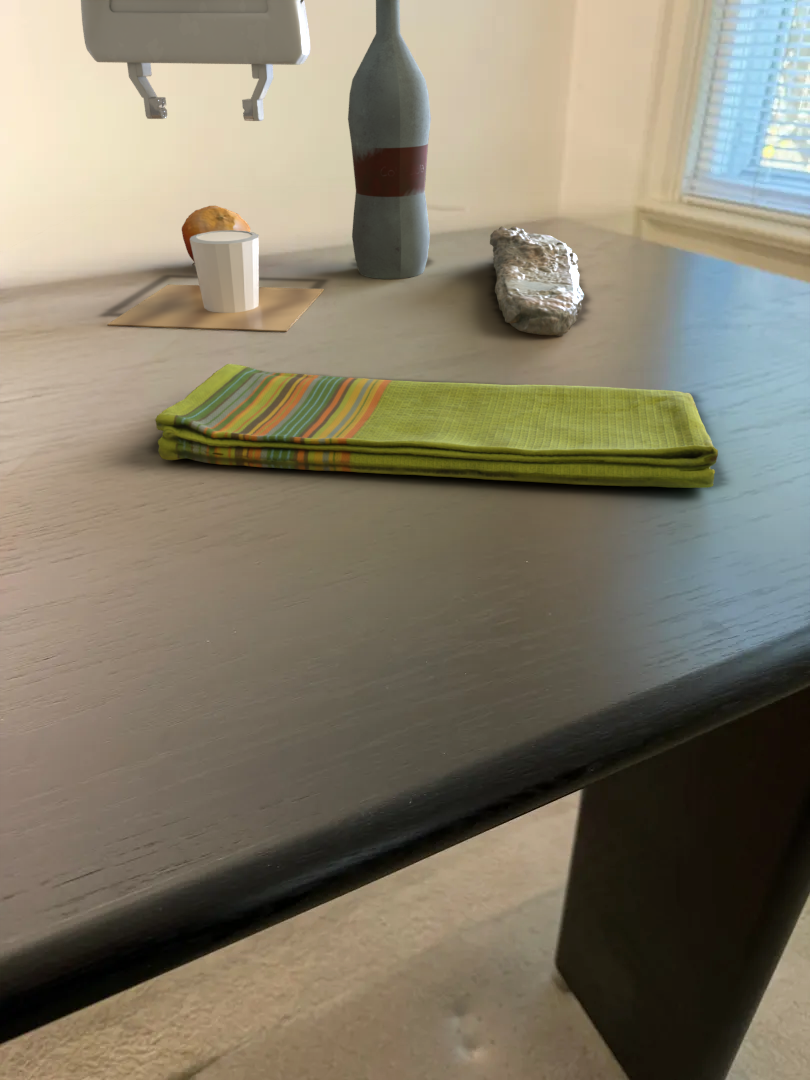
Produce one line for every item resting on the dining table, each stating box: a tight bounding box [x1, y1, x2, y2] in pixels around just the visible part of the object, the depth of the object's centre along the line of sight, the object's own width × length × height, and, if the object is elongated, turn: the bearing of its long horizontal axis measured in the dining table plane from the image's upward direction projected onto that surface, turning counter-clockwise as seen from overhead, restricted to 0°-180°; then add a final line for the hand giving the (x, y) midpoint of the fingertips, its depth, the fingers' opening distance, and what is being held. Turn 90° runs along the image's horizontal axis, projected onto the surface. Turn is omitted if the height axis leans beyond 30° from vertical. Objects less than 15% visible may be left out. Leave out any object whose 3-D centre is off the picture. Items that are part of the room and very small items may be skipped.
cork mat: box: [106, 283, 325, 333], centre depth 92 cm, size 18×16×1 cm
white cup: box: [190, 230, 260, 313], centre depth 90 cm, size 7×7×7 cm
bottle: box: [347, 0, 432, 280], centre depth 98 cm, size 9×9×30 cm
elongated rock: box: [489, 226, 585, 337], centre depth 96 cm, size 35×5×10 cm
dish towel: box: [154, 363, 719, 489], centre depth 62 cm, size 15×36×3 cm, turn 81°
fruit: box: [181, 205, 251, 266], centre depth 107 cm, size 8×8×8 cm
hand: (205, 119), depth 83 cm, fingers open, 8 cm apart
